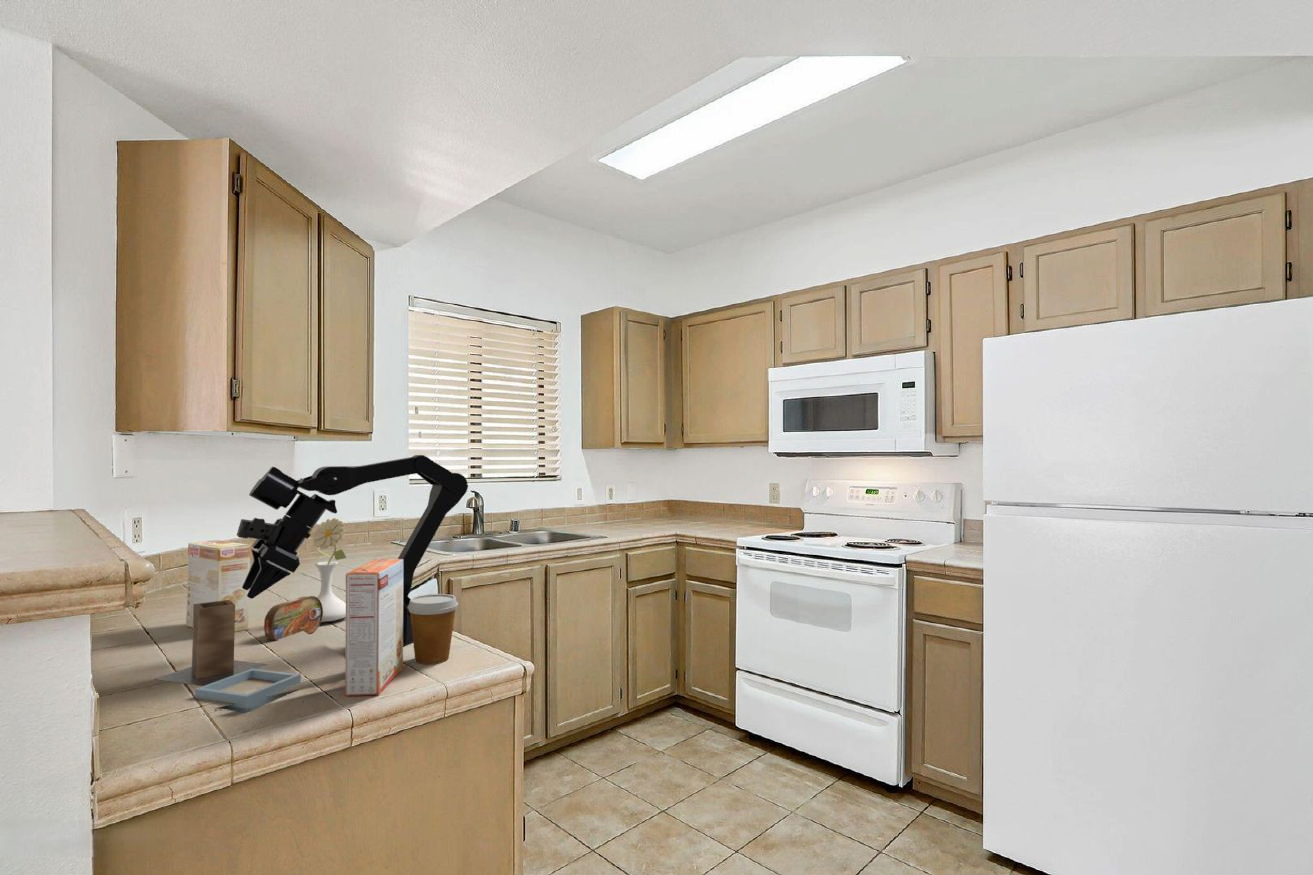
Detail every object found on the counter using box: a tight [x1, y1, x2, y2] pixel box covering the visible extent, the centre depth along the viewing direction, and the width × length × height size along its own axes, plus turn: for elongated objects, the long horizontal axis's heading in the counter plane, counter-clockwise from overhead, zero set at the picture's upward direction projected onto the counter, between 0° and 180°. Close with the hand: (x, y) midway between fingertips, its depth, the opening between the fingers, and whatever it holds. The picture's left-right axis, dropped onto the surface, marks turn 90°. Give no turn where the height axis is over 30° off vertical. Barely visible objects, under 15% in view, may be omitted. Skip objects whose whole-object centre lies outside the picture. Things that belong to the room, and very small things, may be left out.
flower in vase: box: [312, 517, 347, 623], centre depth 158 cm, size 13×11×25 cm
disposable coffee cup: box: [407, 593, 459, 665], centre depth 129 cm, size 10×10×12 cm
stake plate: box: [154, 659, 268, 687], centre depth 117 cm, size 12×12×5 cm
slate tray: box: [194, 668, 302, 713], centre depth 108 cm, size 11×11×2 cm
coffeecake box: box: [185, 539, 251, 633], centre depth 150 cm, size 15×7×20 cm, turn 58°
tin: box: [263, 595, 323, 641], centre depth 143 cm, size 15×3×8 cm, turn 168°
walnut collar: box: [191, 600, 236, 679], centre depth 117 cm, size 5×5×12 cm
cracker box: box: [344, 558, 404, 697], centre depth 116 cm, size 14×6×21 cm, turn 5°
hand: (246, 593), depth 124 cm, fingers open, 9 cm apart
